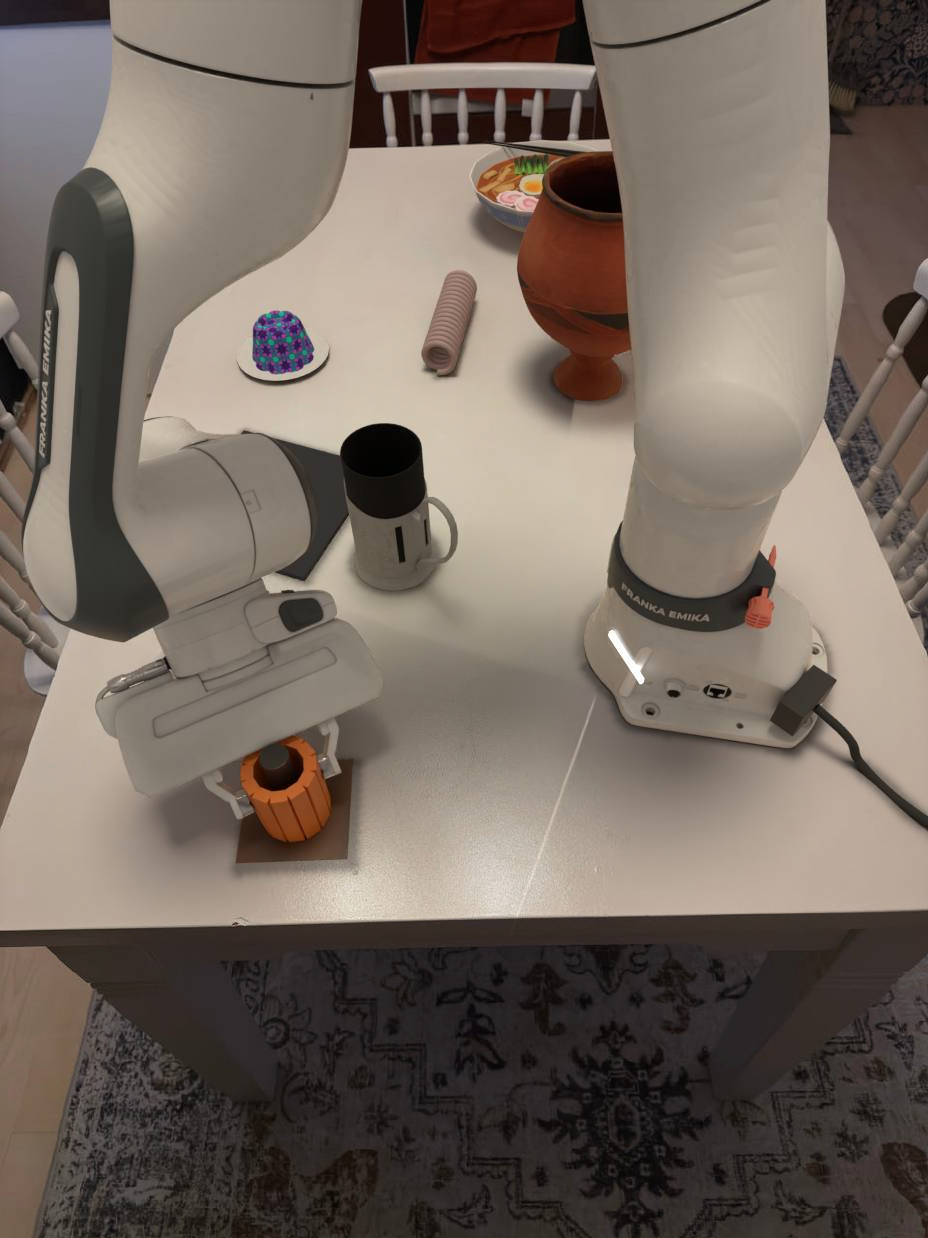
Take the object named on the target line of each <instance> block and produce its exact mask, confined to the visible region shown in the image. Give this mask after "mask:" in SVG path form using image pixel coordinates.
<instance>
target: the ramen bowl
mask: <svg viewBox="0 0 928 1238" xmlns="http://www.w3.org/2000/svg"><path fill="white" fill-rule="evenodd" d="M481 143H482V144H486V145H491V146H497V147H498V148H495V149H492V150H490V151H488V152H487V153H485V154H484V155H483V156H481V157H480V158H478V159H477V160H475V161H474V162H473V164H472V167H471V169H470V171H469V174H468V179H469V181H470V184H471V186H472V188H473V191H474V193H475V195H476V197H477V199H478V201H479V203H480V204H481V206H482V207H483V208H484V210H485V211H486V212H487V213H488V214H489V215H490V216H491V217H492V218H493V219H495V220H496V221H498V222H499V223H500V224H502V225H503V226H505V227H507V228H508V229H511V230H514V231H517V232H520V233H523V234H524V233H525V230H526V228H527V225H528V223H529V221H530V219H531V216H532V214H533V212H534V210H535V207H536V205H537V203H538V200H539V197H540V194H541V192H542V189H543V187H542V179H543V176H544V173H545V171H546V169H547V168H548V167H549V166H551V165H552V164H553V163H555V162H557V161H559V160H561V159H563V158H565V157H569V156H572V155H576V154H579V153H583V152H593V151H600V150H599V149H597V148H594V147H591V146H587V145H583V144H579V143H576V142H572V141H564V140H563V141H561V140H546V139H538V140H530V141H519V142H513V143H512V142H511V143H510V142H501V141H494V140H486V139H485V140H484V139H483V141H482V142H481Z"/></svg>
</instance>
